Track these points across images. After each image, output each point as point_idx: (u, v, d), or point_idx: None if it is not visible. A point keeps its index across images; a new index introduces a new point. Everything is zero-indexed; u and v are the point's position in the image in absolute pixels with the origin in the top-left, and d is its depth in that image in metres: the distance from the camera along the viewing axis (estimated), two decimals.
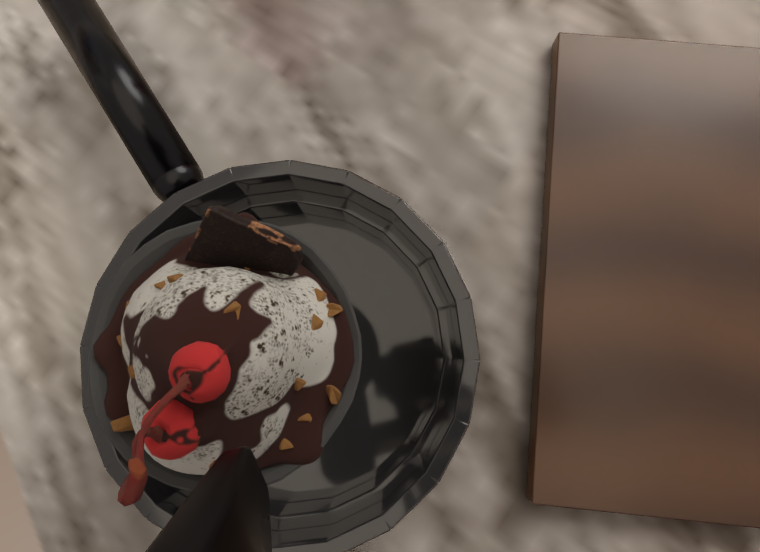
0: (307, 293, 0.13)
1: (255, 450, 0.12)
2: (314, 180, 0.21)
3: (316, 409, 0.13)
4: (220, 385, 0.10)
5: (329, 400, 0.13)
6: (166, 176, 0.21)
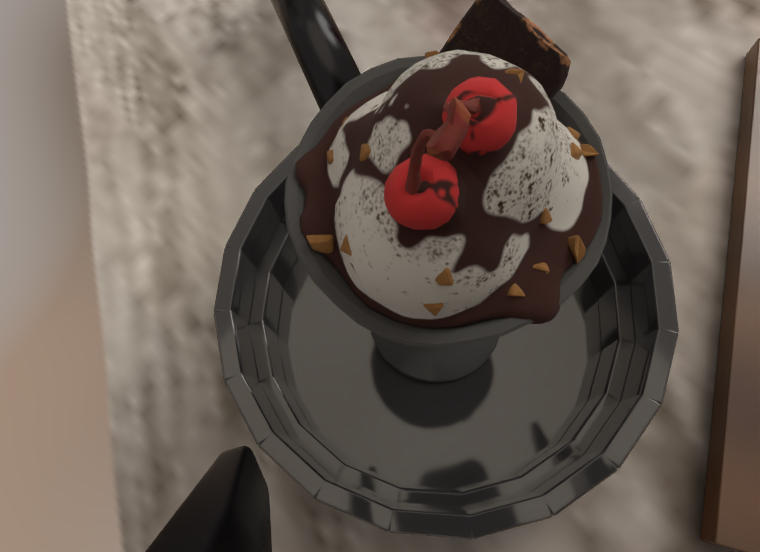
0: (561, 126, 0.11)
1: (487, 280, 0.10)
2: None
3: (555, 261, 0.10)
4: (512, 123, 0.08)
5: (571, 255, 0.10)
6: None
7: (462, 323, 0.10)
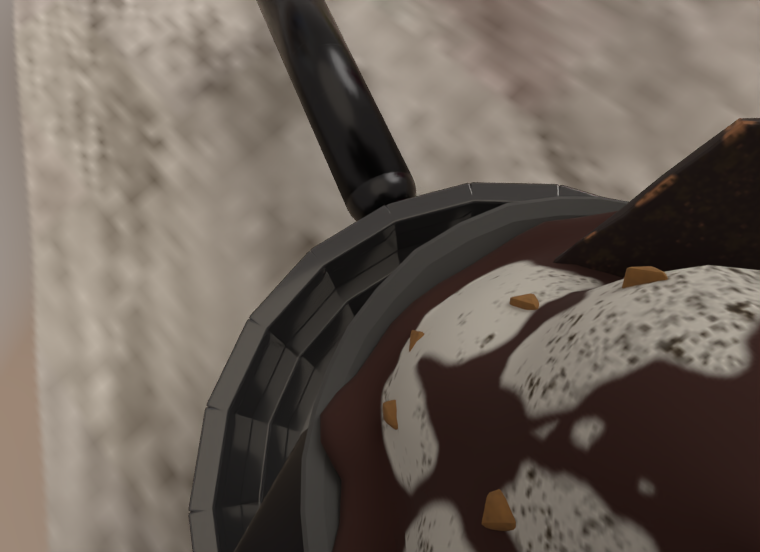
0: None
1: None
2: None
3: None
4: None
5: None
6: (375, 182, 0.14)
7: None
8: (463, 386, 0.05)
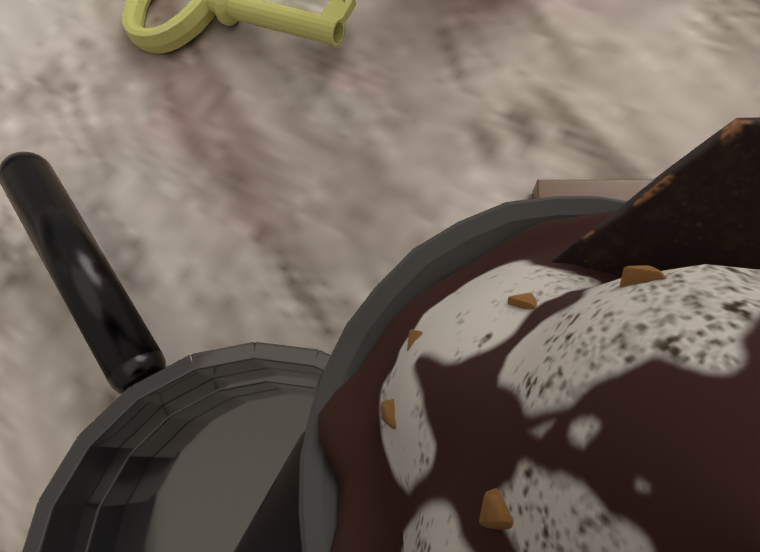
0: None
1: None
2: (281, 363, 0.19)
3: None
4: None
5: None
6: (122, 368, 0.19)
7: None
8: (461, 385, 0.05)
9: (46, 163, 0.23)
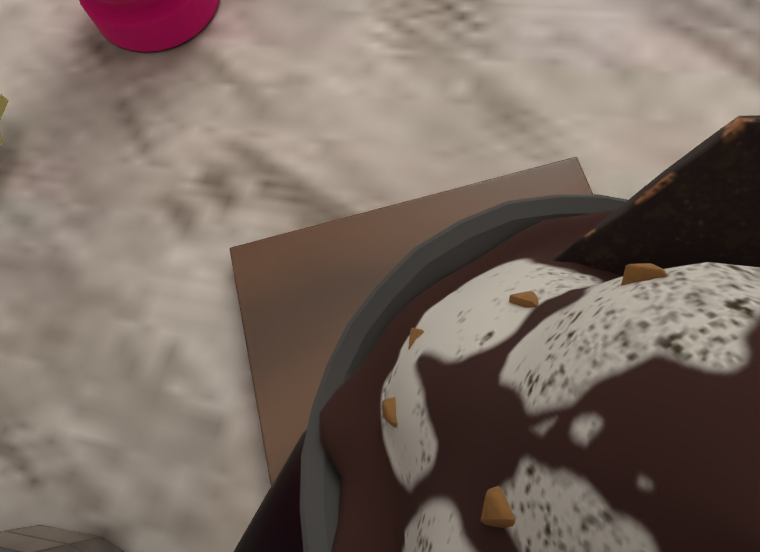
0: None
1: None
2: None
3: None
4: None
5: None
6: None
7: None
8: (462, 383, 0.05)
9: None
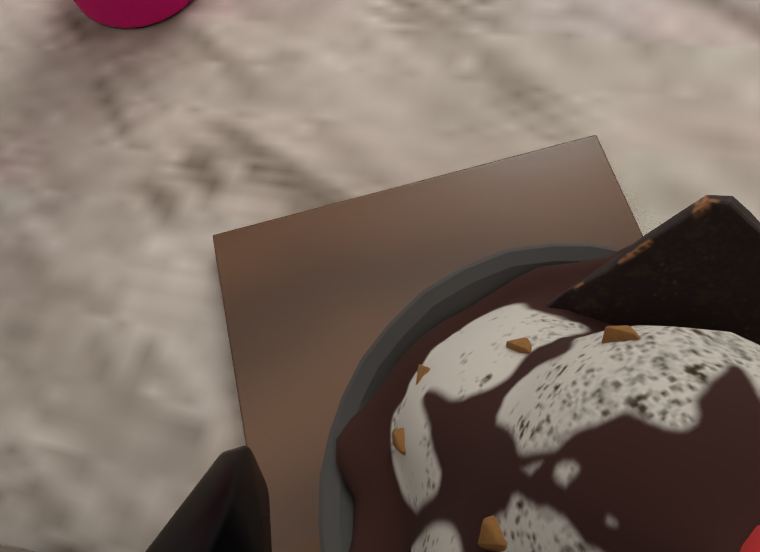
0: None
1: None
2: None
3: None
4: None
5: None
6: None
7: None
8: (464, 421, 0.06)
9: None
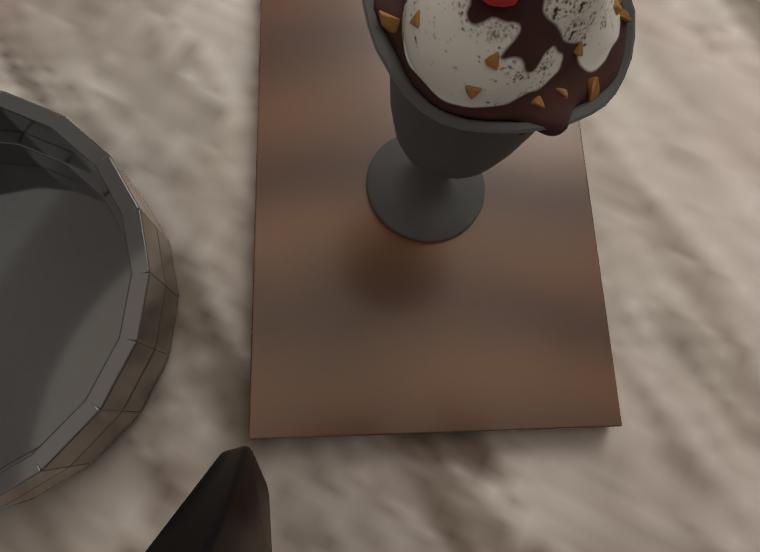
0: None
1: (522, 79, 0.12)
2: None
3: (574, 91, 0.13)
4: None
5: (587, 91, 0.13)
6: None
7: (488, 116, 0.12)
8: None
9: None
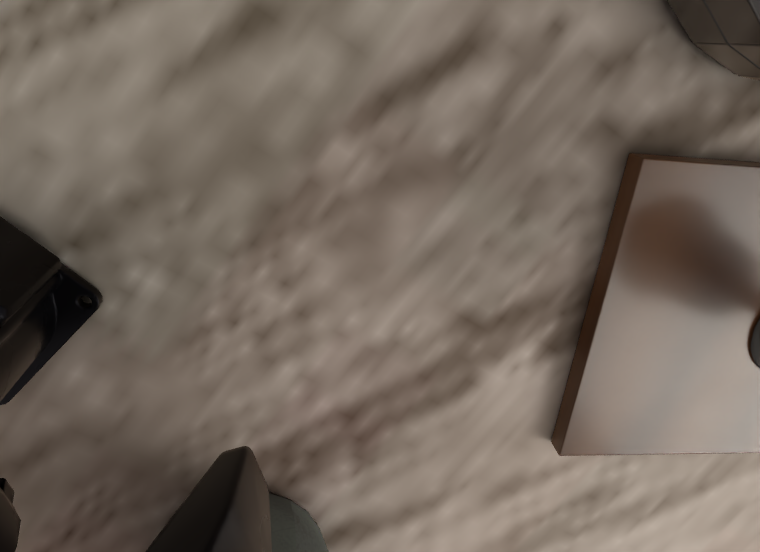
0: None
1: None
2: None
3: None
4: None
5: None
6: None
7: None
8: None
9: None
